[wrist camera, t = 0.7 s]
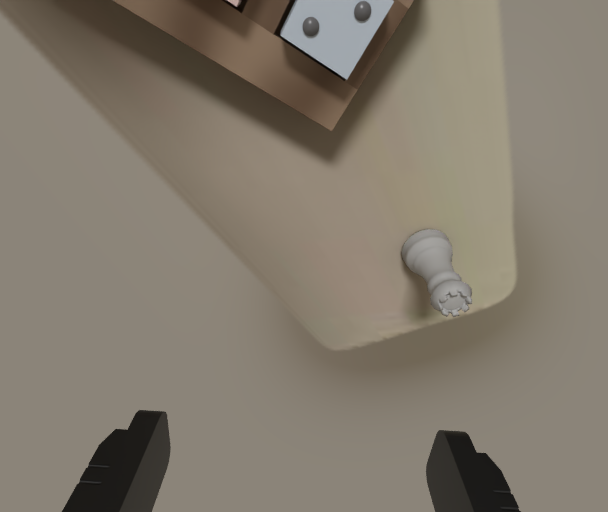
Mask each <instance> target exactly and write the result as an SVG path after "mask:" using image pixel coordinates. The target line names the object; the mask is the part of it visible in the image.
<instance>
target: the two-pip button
mask: <svg viewBox="0 0 608 512" xmlns="http://www.w3.org/2000/svg"><path fill="white" fill-rule="evenodd" d="M393 3H394V1H393V0H295V2H294V4H293V6H292V8H291V10H290V12H289V14H288V16H287V18H286V20H285V23H284V25H283V27H282V29H281V31H280V32H281V36H282V37H283V38H285V39H286V40H288V41H289V42H291V43H292V44H294V45H295V46H297V47H298V48H300V49H301V50H303V51H304V52H306V53H307V54H309V55H310V56H312V57H313V58H315V59H316V60H318V61H319V62H321V63H322V64H324V65H325V66H327V67H328V68H330V69H332V70H333V71H335V72H336V73H338V74H339V75H341V76H342V77H344V78H345V79H348V77H349V76H350V74H351V72H352V71H353V69H354V67H355V66H356V64H357V62H358V61H359V59H360V57H361V56H362V54H363V52H364V51H365V49H366V47H367V46H368V44H369V43H370V41H371V39H372V38H373V36H374V34H375V33H376V31H377V29H378V28H379V26H380V24H381V23H382V21H383V19H384V18H385V16H386V14H387V13H388V11H389V9H390V8H391V6H392V5H393Z"/></svg>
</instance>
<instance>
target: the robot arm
mask: <svg viewBox="0 0 608 512" xmlns="http://www.w3.org/2000/svg"><path fill="white" fill-rule="evenodd" d="M169 457H170V438H169V430H168V420H167V414H166V412H162V411H161V412H160V411H146V410H139V411H138V412H137V413H136V414H135V416H134V418H133V420H132V422H131V424H130V426H129V428H128V430H122V429H115V430H114V431H113V432H112V433H111V434H110V435H109V436H108V437H107V438H106V439H105V440H104V441H103V442H102V443H101V444H100V445H99V447H98V448H97V450H96V452H95V454H94V455H93V457H92V459H91V461H90V462H89V466H88V468H86V470H85V471H84V473H83V475H82V477H81V478H80V482H79V484H77V486H76V487H75V489H74V491H73V493H72V495H71V496H70V498H69V500H68V502H67V504H66V505H65V507H64V509H63V511H62V512H152V509H153V506H154V503H155V500H156V498H157V495H158V492H159V489H160V487H161V484H162V481H163V478H164V475H165V473H166V470H167V466H168V462H169ZM426 476H427V483H428V487H429V491H430V495H431V498H432V502H433V505H434V508H435V512H521V511H519V509H518V505H517V503H516V501H515V498H514V496H513V495H512V494H511V492H510V488H509V486H508V484H507V482H506V480H505V478H504V476H503V474H502V471H501V470H500V469H499V468H498V467H497V466H496V464H495V463H494V462H493V461H492V460H491V459H490V457H489V456H488V455H487V454H486V453H476V450H475V448H474V446H473V444H472V441H471V439H470V437H469V435H468V434H467V433H466V432H460V431H444V430H439V431H438V432H437V435H436V438H435V441H434V444H433V447H432V450H431V453H430V456H429V459H428V462H427V467H426Z"/></svg>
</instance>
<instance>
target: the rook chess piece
mask: <svg viewBox="0 0 608 512" xmlns="http://www.w3.org/2000/svg"><path fill="white" fill-rule="evenodd" d="M452 256H453V254H452V245H451V244H450V242H449V239H448V238H447V236H446V235H445V234H444V233H442V232H440V231H439V230H431V229H426V230H422V231H419V232H417V233H415V234H413V235H412V236H411V237H410V238H409V239H408V240H407V241H406V243H405V244H404V246H403V249H402V257H403V260H404V261H405V262H406V265H407V266H408V267H409V269H410V270H411V271H412V272H414V273H417V274H418V275H420V276H422V277H423V278H424V280H425V281H426V282H427V284H428V286H427V288H428V292H429V293H430V294H431V295H432V296H431V298H430V300H431V305H432V306H433V307H434V309H436V310H439V311H441V313H442V315H445V316H448V315H449V313H451V314H452V316H453V317H455V316H459V313H458V311H459V310H461V309H462V310H463V311H464V312H466V311H467V310H468V309H469V307H468V305H467V304H472V299H471V295H472V289H471V288H470V286H469V285H468V284H466V283H464V282H462V281H461V277H460V276H459V274H457V273H455V272H454V269H453V266H452V264H451V261H452Z"/></svg>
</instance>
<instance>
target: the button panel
mask: <svg viewBox="0 0 608 512" xmlns="http://www.w3.org/2000/svg"><path fill="white" fill-rule="evenodd" d="M113 1H114V2H116V3H118V4H120V5H121V6H123V7H125V8H126V9H128V10H130V11H131V12H133V13H135V14H136V15H138V16H140V17H141V18H143V19H145V20H146V21H148V22H150V23H151V24H153V25H155V26H156V27H158V28H160V29H161V30H163V31H165V32H166V33H168V34H170V35H171V36H173V37H175V38H176V39H178V40H180V41H181V42H183V43H185V44H186V45H188V46H190V47H191V48H193V49H195V50H196V51H198V52H200V53H201V54H203V55H205V56H207V57H208V58H210V59H212V60H213V61H215V62H217V63H218V64H220V65H222V66H223V67H225V68H227V69H228V70H230V71H232V72H233V73H235V74H237V75H238V76H240V77H242V78H243V79H245V80H247V81H248V82H250V83H252V84H253V85H255V86H257V87H258V88H260V89H262V90H263V91H265V92H267V93H268V94H270V95H272V96H273V97H275V98H277V99H278V100H280V101H282V102H283V103H285V104H287V105H288V106H290V107H292V108H294V109H295V110H297V111H299V112H300V113H302V114H304V115H305V116H307V117H309V118H310V119H312V120H314V121H315V122H317V123H319V124H320V125H322V126H324V127H325V128H327V129H329V130H330V131H332V130H333V128H334V127H335V125H336V124H337V122H338V120H339V119H340V117H341V116H342V114H343V112H344V111H345V109H346V108H347V106H348V104H349V103H350V101H351V100H352V98H353V96H354V95H355V93H356V92H357V90H358V89H359V87H360V85H361V84H362V82H363V81H364V79H365V77H366V76H367V74H368V73H369V71H370V69H371V68H372V66H373V65H374V63H375V61H376V60H377V58H378V57H379V55H380V54H381V52H382V50H383V49H384V47H385V46H386V44H387V42H388V41H389V39H390V38H391V36H392V34H393V33H394V31H395V30H396V28H397V26H398V25H399V23H400V22H401V20H402V19H403V17H404V15H405V14H406V12H407V11H408V9H409V7H410V6H411V4H412V3H413V1H414V0H393V1H394V3H393V5H392V6H391V8H390V9H389V11H388V13H387V14H386V16H385V18H384V19H383V21H382V23H381V24H380V26H379V28H378V29H377V31H376V33H375V34H374V36H373V38H372V39H371V41H370V43H369V44H368V46H367V47H366V49H365V51H364V52H363V54H362V56H361V57H360V59H359V61H358V62H357V64H356V66H355V67H354V69H353V71H352V72H351V74H350V76H349V77H348V79H345V78H344V77H342V76H341V75H339V74H338V73H336V72H335V71H333V70H332V69H330V68H328V67H327V66H325V65H324V64H322V63H321V62H319V61H318V60H316V59H315V58H313V57H312V56H310V55H309V54H307V53H306V52H304V51H303V50H301V49H300V48H298V47H297V46H295V45H294V44H292V43H291V42H289V41H288V40H286V39H285V38H283V37H282V36H281V32H280V31H281V29H282V27H283V25H284V23H285V20H286V18H287V16H288V14H289V12H290V10H291V8H292V6H293V4H294V2H295V0H242V2H241V4H240V5H238V6H237V7H236V6H235V5H233V4H232V3H230V2H229V1H227V0H113Z"/></svg>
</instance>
